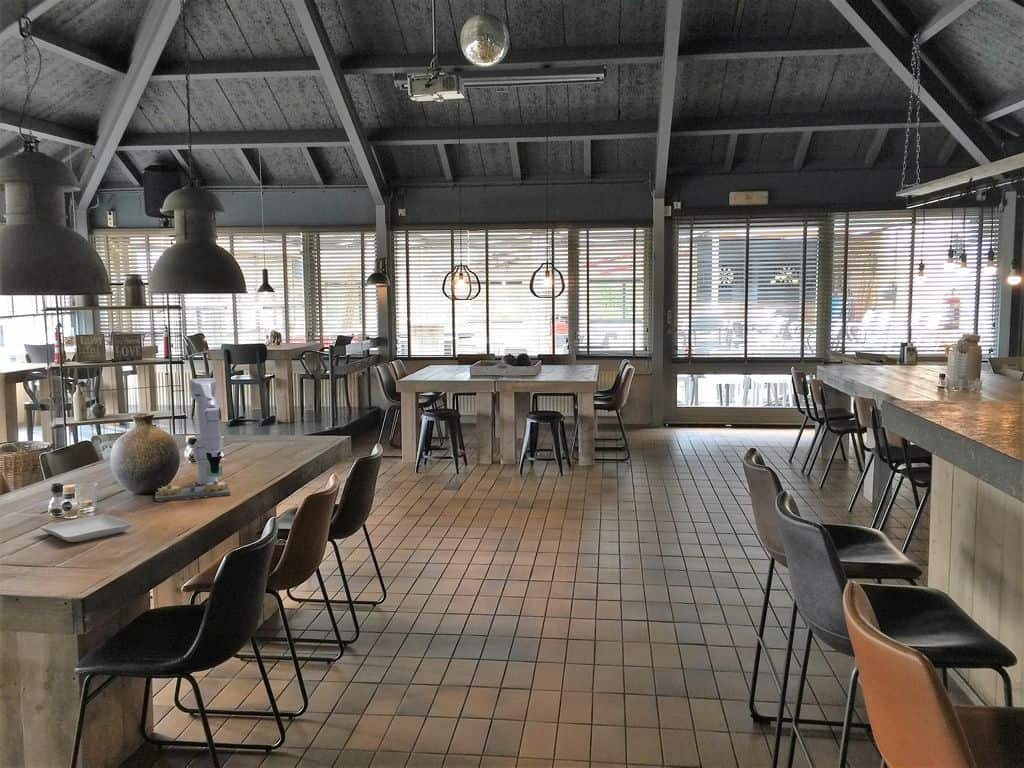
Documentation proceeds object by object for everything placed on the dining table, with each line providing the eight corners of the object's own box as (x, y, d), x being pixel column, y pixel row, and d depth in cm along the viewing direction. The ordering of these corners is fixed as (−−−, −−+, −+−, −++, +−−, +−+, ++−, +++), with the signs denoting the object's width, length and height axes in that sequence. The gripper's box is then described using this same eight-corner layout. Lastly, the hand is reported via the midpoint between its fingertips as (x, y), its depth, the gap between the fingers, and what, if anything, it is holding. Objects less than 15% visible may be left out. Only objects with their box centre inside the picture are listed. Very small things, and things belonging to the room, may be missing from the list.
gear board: (156, 493, 319) (155, 481, 318) (228, 487, 329) (227, 475, 328) (155, 501, 306) (154, 489, 305) (230, 495, 316) (229, 482, 316)
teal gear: (206, 474, 321) (206, 464, 321) (222, 473, 324) (221, 463, 323) (207, 477, 316) (206, 467, 316) (222, 476, 318) (222, 466, 318)
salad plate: (105, 522, 279) (104, 512, 279) (134, 533, 266) (134, 523, 266) (39, 535, 263) (38, 525, 263) (66, 548, 250) (66, 537, 249)
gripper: (224, 440, 313) (226, 474, 315) (222, 434, 327) (224, 467, 328) (205, 441, 311) (207, 475, 312) (204, 435, 324) (205, 468, 325)
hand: (214, 471), depth 320 cm, fingers closed on teal gear, 6 cm apart
